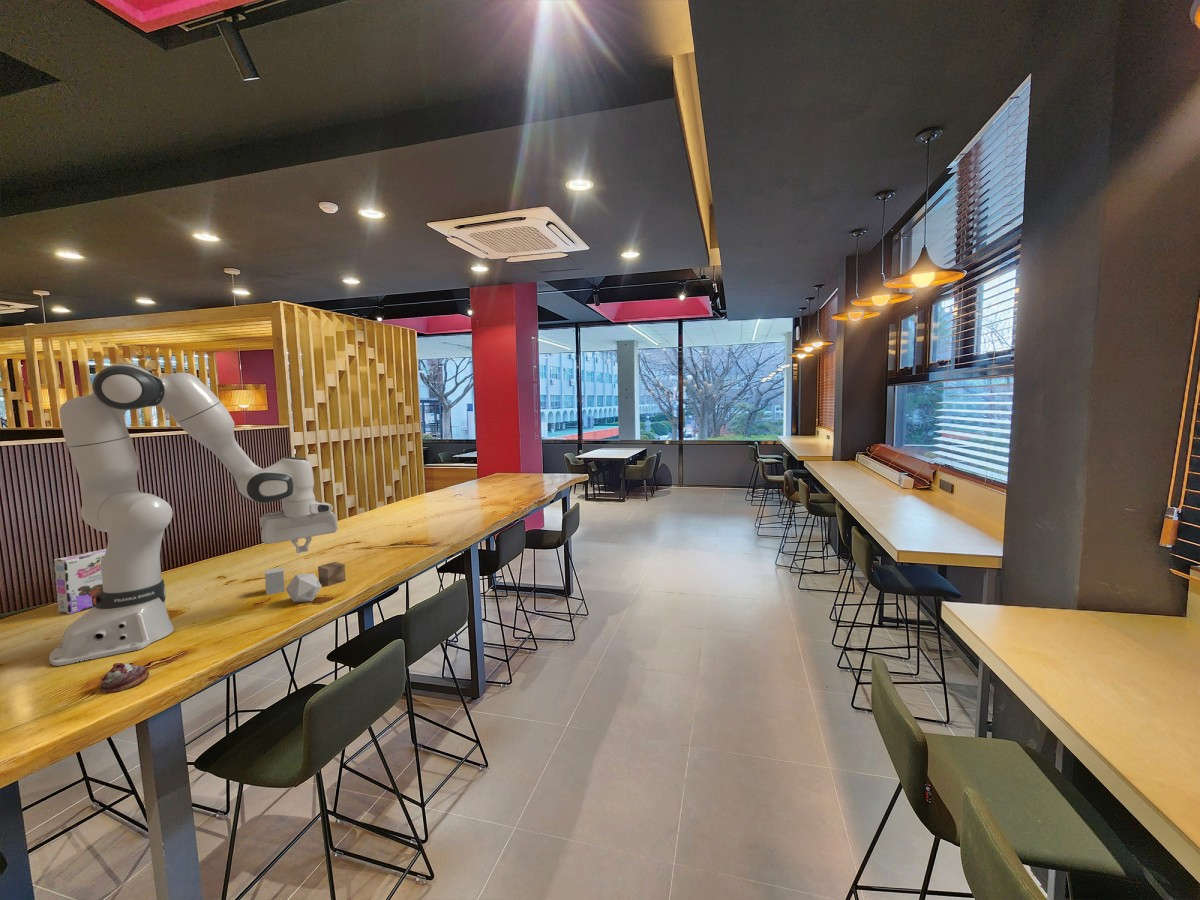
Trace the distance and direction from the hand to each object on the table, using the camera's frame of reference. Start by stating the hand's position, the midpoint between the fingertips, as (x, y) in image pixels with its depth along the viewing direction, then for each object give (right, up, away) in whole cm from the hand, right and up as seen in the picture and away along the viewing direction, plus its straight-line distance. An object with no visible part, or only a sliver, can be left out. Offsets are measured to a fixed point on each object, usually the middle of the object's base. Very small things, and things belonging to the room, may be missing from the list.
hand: (302, 551), depth 150 cm
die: (0, -16, +1) cm, 16 cm away
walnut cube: (0, -14, +17) cm, 23 cm away
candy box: (-64, -17, -1) cm, 66 cm away
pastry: (-11, -20, -45) cm, 50 cm away
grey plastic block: (-15, -15, +9) cm, 23 cm away
